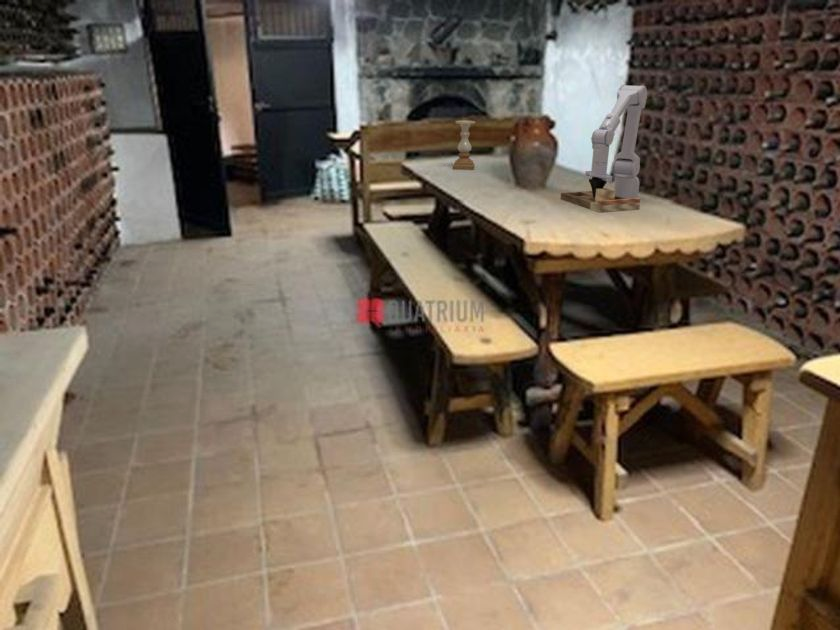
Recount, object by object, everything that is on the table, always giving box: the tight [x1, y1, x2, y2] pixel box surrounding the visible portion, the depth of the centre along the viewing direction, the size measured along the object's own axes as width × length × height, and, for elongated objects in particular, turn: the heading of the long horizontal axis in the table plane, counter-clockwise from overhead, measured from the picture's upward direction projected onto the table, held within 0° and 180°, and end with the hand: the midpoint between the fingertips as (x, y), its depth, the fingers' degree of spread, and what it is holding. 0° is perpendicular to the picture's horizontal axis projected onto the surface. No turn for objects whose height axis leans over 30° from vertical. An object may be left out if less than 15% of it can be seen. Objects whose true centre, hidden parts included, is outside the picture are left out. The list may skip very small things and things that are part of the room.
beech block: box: [595, 187, 615, 203], centre depth 247 cm, size 5×5×5 cm
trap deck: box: [560, 190, 641, 213], centre depth 257 cm, size 18×27×4 cm, turn 20°
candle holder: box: [452, 119, 476, 171], centre depth 340 cm, size 11×11×24 cm
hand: (596, 197), depth 252 cm, fingers closed
